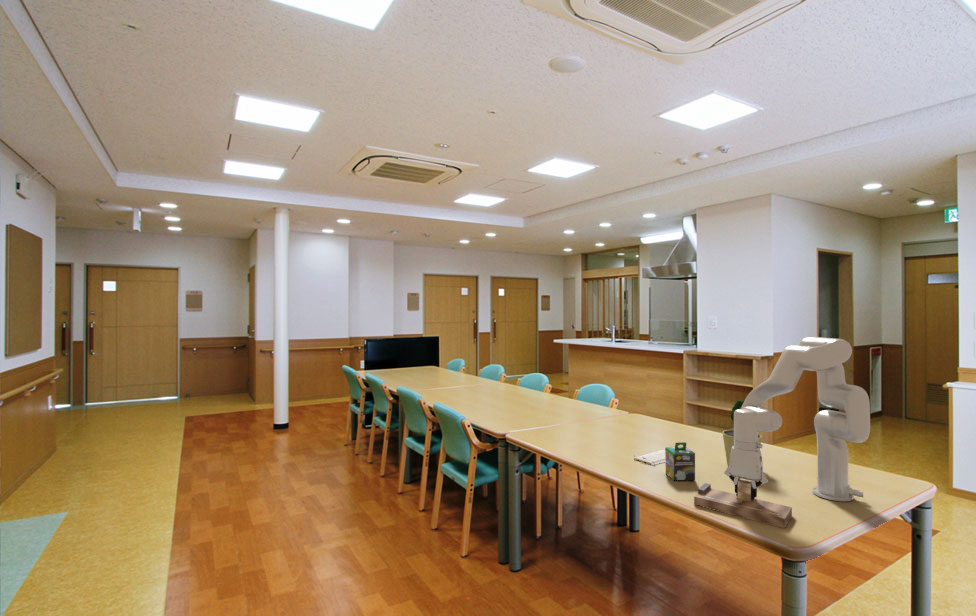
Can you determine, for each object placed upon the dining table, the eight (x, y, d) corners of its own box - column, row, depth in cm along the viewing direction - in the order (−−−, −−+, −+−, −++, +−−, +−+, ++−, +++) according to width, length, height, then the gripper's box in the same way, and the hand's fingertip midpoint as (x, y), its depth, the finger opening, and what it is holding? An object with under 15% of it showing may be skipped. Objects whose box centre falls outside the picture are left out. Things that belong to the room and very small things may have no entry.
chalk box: (686, 473, 206) (686, 438, 206) (696, 481, 197) (696, 444, 197) (664, 473, 206) (664, 438, 206) (673, 481, 197) (673, 445, 197)
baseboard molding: (696, 455, 233) (674, 449, 243) (696, 449, 233) (674, 443, 243) (656, 467, 215) (633, 460, 225) (656, 461, 215) (633, 454, 225)
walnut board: (791, 516, 164) (791, 502, 164) (784, 528, 155) (784, 514, 155) (705, 495, 183) (705, 483, 183) (694, 504, 174) (694, 492, 174)
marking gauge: (754, 502, 173) (754, 480, 173) (745, 513, 164) (745, 489, 164) (742, 500, 175) (742, 477, 176) (732, 509, 166) (733, 486, 167)
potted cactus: (717, 467, 213) (717, 399, 213) (728, 459, 225) (728, 394, 225) (756, 476, 203) (756, 404, 203) (765, 467, 214) (766, 399, 214)
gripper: (775, 447, 169) (775, 499, 169) (723, 438, 180) (723, 488, 180) (770, 452, 163) (770, 506, 163) (717, 443, 174) (717, 494, 174)
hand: (745, 496), depth 172 cm, fingers closed on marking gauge, 4 cm apart
